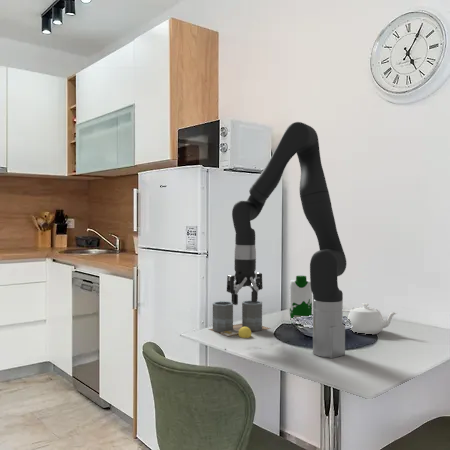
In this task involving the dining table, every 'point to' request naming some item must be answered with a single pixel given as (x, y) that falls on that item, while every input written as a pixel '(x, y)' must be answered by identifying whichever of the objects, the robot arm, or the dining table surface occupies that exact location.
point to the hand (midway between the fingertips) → (244, 303)
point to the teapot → (367, 319)
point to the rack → (225, 317)
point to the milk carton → (300, 297)
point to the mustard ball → (244, 332)
